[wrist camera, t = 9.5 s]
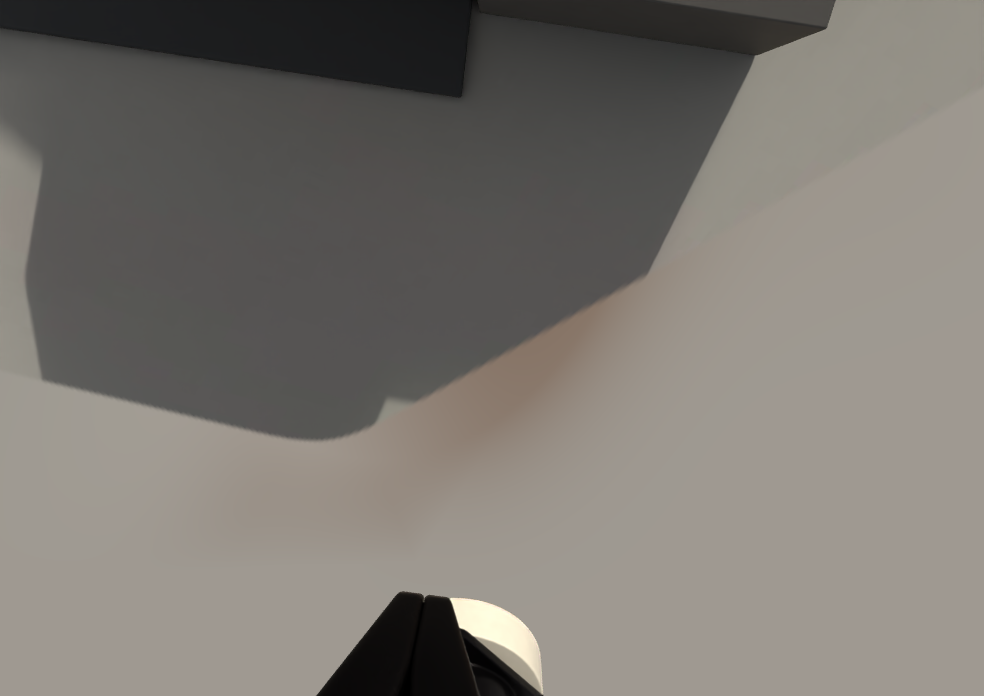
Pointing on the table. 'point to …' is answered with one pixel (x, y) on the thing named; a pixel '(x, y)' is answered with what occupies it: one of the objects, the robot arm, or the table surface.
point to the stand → (682, 19)
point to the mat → (277, 34)
